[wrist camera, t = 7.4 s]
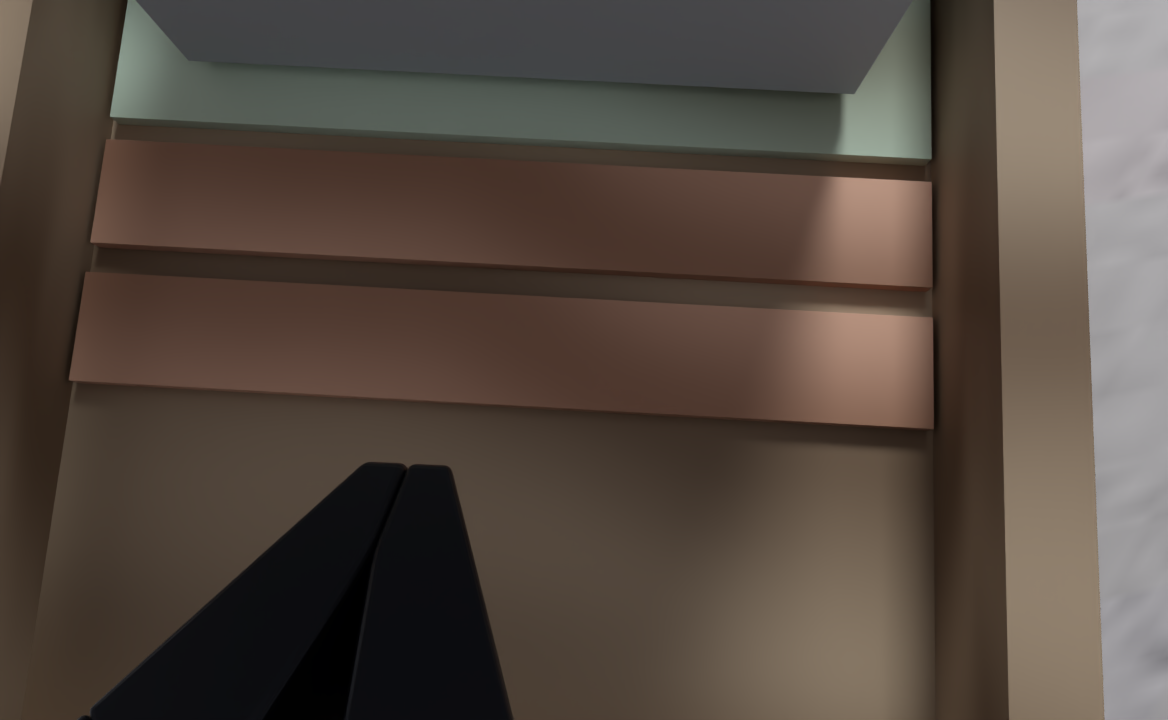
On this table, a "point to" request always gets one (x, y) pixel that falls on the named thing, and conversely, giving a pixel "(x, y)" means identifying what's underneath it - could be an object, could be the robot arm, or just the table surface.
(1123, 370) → the table surface
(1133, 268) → the table surface
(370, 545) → the robot arm
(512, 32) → the grey block
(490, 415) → the box
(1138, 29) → the table surface
